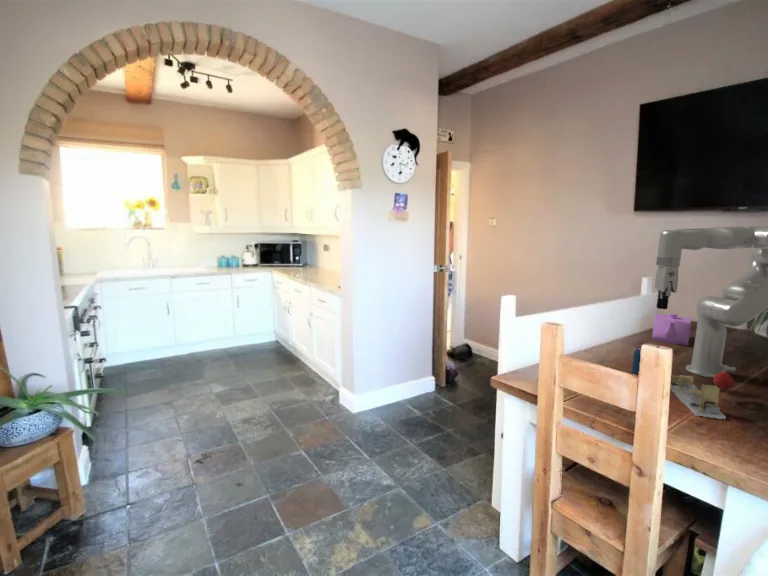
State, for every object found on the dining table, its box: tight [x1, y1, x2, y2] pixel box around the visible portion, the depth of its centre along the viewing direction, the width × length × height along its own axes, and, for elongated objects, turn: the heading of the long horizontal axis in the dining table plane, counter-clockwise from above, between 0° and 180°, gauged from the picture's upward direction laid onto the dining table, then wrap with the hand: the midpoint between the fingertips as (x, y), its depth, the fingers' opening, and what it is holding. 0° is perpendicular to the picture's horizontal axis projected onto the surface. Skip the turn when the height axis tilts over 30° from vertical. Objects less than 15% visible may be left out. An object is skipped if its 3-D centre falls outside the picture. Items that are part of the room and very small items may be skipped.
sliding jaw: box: [689, 384, 721, 407], centre depth 134 cm, size 8×2×7 cm, turn 73°
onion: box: [712, 370, 735, 392], centre depth 149 cm, size 6×6×8 cm
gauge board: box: [670, 374, 726, 421], centre depth 141 cm, size 8×26×5 cm, turn 163°
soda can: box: [631, 346, 642, 375], centre depth 159 cm, size 7×7×12 cm
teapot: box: [651, 312, 692, 347], centre depth 209 cm, size 15×25×14 cm, turn 144°
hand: (661, 308), depth 161 cm, fingers closed
